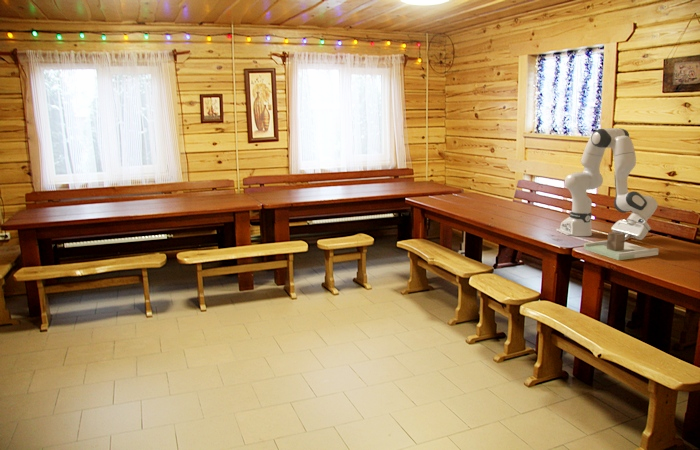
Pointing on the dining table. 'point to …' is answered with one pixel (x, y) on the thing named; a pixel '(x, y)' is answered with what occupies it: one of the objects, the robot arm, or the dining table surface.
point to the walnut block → (615, 241)
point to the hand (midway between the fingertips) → (620, 240)
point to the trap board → (627, 253)
